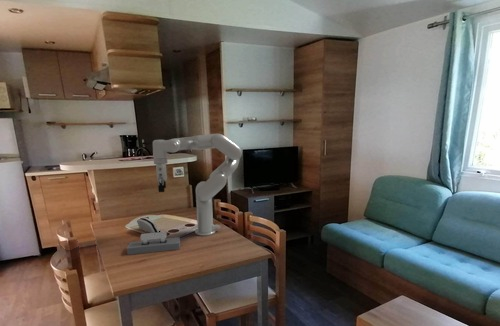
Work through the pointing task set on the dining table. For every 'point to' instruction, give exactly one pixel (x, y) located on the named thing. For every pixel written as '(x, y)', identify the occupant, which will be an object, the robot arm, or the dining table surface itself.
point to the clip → (153, 237)
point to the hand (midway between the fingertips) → (162, 190)
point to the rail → (153, 246)
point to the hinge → (147, 225)
